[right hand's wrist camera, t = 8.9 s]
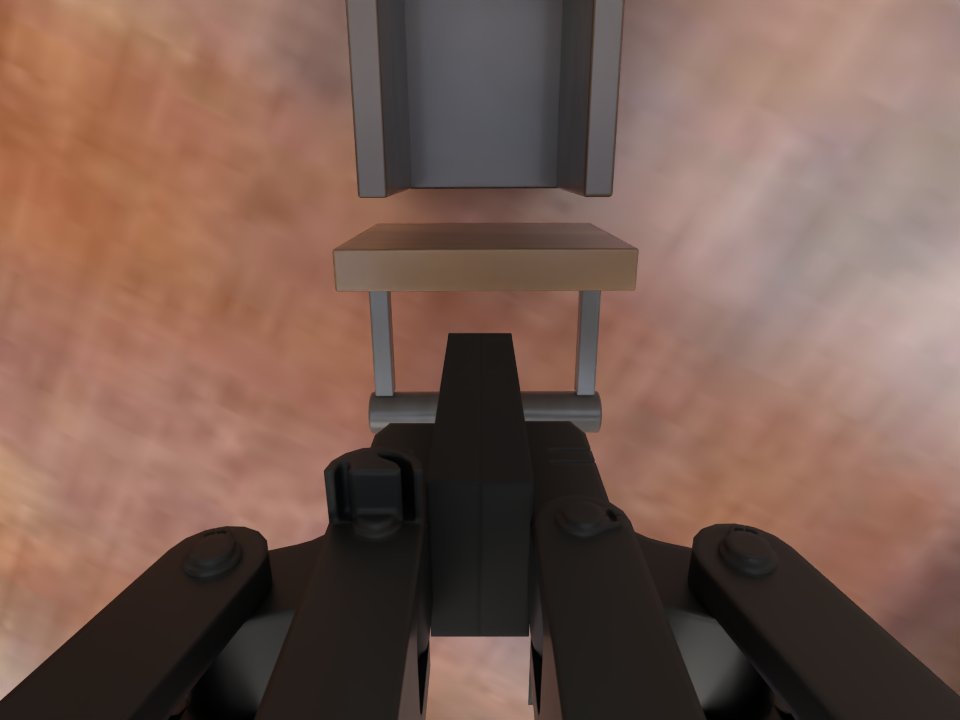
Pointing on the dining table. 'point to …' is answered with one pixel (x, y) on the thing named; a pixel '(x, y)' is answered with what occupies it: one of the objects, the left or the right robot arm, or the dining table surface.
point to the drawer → (485, 166)
